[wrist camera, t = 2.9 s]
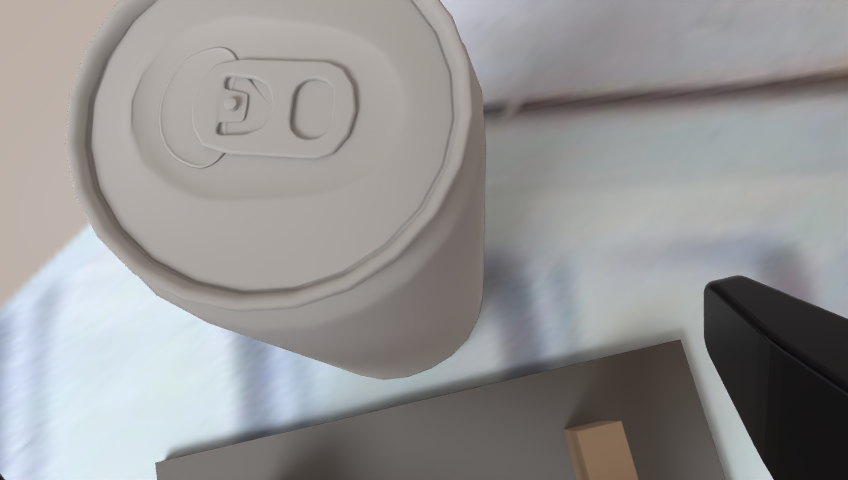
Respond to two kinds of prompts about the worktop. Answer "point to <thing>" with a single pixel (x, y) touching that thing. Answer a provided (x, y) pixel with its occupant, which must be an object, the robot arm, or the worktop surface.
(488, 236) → the worktop surface
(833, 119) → the worktop surface
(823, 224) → the worktop surface
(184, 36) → the beverage can
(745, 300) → the robot arm
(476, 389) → the keeper
